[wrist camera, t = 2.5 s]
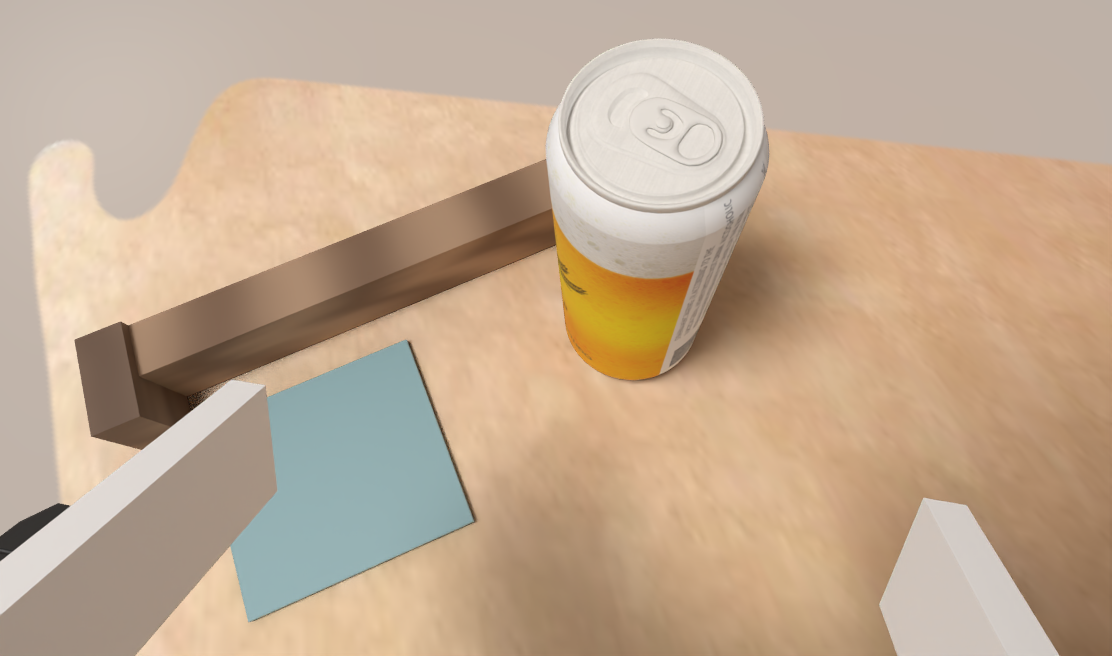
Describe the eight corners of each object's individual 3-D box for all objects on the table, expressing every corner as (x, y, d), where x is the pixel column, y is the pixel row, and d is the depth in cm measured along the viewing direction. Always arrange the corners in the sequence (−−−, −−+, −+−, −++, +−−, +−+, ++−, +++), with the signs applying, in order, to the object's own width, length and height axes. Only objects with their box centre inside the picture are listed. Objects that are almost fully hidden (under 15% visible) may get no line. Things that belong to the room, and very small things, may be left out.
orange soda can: (611, 243, 32) (624, -6, 18) (719, 306, 31) (822, 88, 17) (540, 339, 31) (496, 148, 17) (650, 410, 29) (702, 265, 15)
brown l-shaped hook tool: (600, 179, 34) (600, 130, 30) (638, 250, 32) (644, 208, 28) (136, 367, 32) (74, 339, 28) (153, 452, 30) (91, 436, 26)
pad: (408, 341, 31) (406, 339, 31) (474, 521, 28) (473, 521, 28) (205, 426, 30) (201, 424, 30) (252, 621, 27) (248, 621, 27)
